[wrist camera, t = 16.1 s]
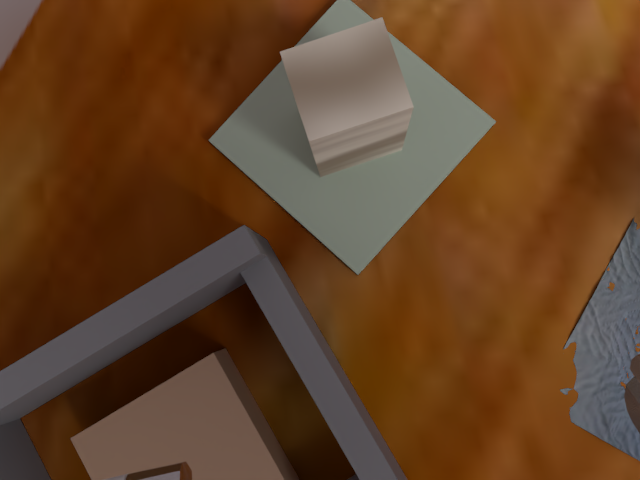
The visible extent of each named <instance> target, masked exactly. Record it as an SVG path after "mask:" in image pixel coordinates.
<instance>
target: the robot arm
mask: <svg viewBox="0 0 640 480" xmlns="http://www.w3.org/2000/svg"><path fill="white" fill-rule="evenodd" d="M630 370H631V371H632V373H633V374H634V377H633V378H632V379H631V380H630V381H629V382H628V383H627V384H626V388H625V394H624V399H625V403H626V408H627V412H628V414H629V416H630V418H631V420H632V422H633V424H634V426H635V427H636V429H637V430H638V432H639V433H640V354H638V355H636V356H635V357H634V358H633V359H632V360H631V365H630ZM104 480H192V470H191V469H190V467H189V465H188V464H187V462H186V461H185V462H180V463H176V464H171V465H167V466H162V467H158V468H153V469H149V470H144V471H140V472H135V473H131V474H125V475H121V476H116V477H112V478H108V479H104Z"/></svg>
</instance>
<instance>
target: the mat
mask: <svg viewBox="0 0 640 480" xmlns="http://www.w3.org/2000/svg"><path fill="white" fill-rule="evenodd" d="M372 20H373V19H372V18H371V17H370V16H369V15H367V14H366V13H365V12H364V11H363V10H361V9H360V8H359V7H358V6H357V5H355V4H354V3H353V2H352V1H351V0H337V1H336V2H335V3H334V4H333V5H332V6H331V7H330V8H329V9H328V11H327V12H326V13H325V14H324V15H323V16H322V17H321V18H320V19H319V20H318V21H317V23H316V24H315V25H314V26H313V27H312V28H311V29H310V30H309V31H308V32H307V33H306V34H305V36H304V37H303V38H302V39H301V40H300V41H299V42H298V43H297V44H296V45H295V46H298V45H301V44H304V43H307V42H310V41H313V40H316V39H319V38H322V37H325V36H328V35H331V34H334V33H337V32H340V31H343V30H346V29H349V28H352V27H355V26H358V25H361V24H364V23H367V22H370V21H372ZM387 32H388V31H387ZM388 35H389V38H390V41H391V43H392V46H393V49H394V52H395V55H396V58H397V61H398V63H399V66H400V69H401V72H402V75H403V78H404V81H405V83H406V86H407V89H408V92H409V95H410V98H411V101H412V103H413V106H414V108H413V111H412V115H411V119H410V122H409V126H408V129H407V133H406V137H405V140H404V144H403V148H402V150H401V151H398V152H395V153H392V154H389V155H386V156H383V157H380V158H377V159H374V160H371V161H368V162H365V163H362V164H359V165H356V166H353V167H350V168H347V169H344V170H341V171H337V172H334V173H331V174H328V175H325V176H322V177H320V174H319V171H318V168H317V165H316V162H315V159H314V156H313V153H312V150H311V147H310V144H309V141H308V137H307V134H306V131H305V128H304V125H303V122H302V119H301V116H300V113H299V110H298V107H297V104H296V101H295V98H294V94H293V91H292V88H291V85H290V82H289V79H288V76H287V73H286V70H285V67H284V64H283V61H281V62H280V63H279V64H278V65H277V66H276V67H275V68H274V69H273V70H272V71H271V73H270V74H269V75H268V76H267V77H266V78H265V79H264V80H263V81H262V82H261V83H260V85H259V86H258V87H257V88H256V89H255V90H254V91H253V92H252V93H251V94H250V95H249V97H248V98H247V99H246V100H245V101H244V102H243V103H242V104H241V105H240V106H239V107H238V108H237V110H236V111H235V112H234V113H233V114H232V115H231V116H230V117H229V118H228V119H227V120H226V122H225V123H224V124H223V125H222V126H221V127H220V128H219V129H218V130H217V131H216V132H215V134H214V135H213V136H212V137H211V138H210V139H209V141H210V142H211V143H212V144H213V145H214V146H215V147H216V148H217V149H218V150H219V151H220V152H222V153H223V154H224V155H225V156H226V157H227V158H228V159H229V160H230V161H232V162H233V163H234V164H235V165H236V166H237V167H238V168H239V169H240V170H242V171H243V172H244V173H245V174H246V175H247V176H248V177H249V178H250V179H252V180H253V181H254V182H255V183H256V184H257V185H258V186H259V187H260V188H262V189H263V190H264V191H265V192H266V193H267V194H268V195H269V196H270V197H272V198H273V199H274V200H275V201H276V202H277V203H278V204H279V205H280V206H282V207H283V208H284V209H285V210H286V211H287V212H288V213H289V214H290V215H292V216H293V217H294V218H295V219H296V220H297V221H298V222H299V223H300V224H302V225H303V226H304V227H305V228H306V229H307V230H308V231H309V232H310V233H312V234H313V235H314V236H315V237H316V238H317V239H318V240H319V241H321V242H322V243H323V244H324V245H325V246H326V247H327V248H328V249H329V250H331V251H332V252H333V253H334V254H335V255H336V256H337V257H338V258H339V259H341V260H342V261H343V262H344V263H345V264H346V265H347V266H348V267H349V268H351V269H352V270H353V271H354V272H355V273H356V274H357V275H359V274H360V272H361V271H362V270H363V269H364V268H365V267H366V266H367V265H368V264H369V262H370V261H371V260H372V259H373V258H374V257H375V256H376V255H377V254H378V252H379V251H380V250H381V249H382V248H383V247H384V246H385V245H386V244H387V242H388V241H389V240H390V239H391V238H392V237H393V236H394V235H395V234H396V232H397V231H398V230H399V229H400V228H401V227H402V226H403V225H404V224H405V222H406V221H407V220H408V219H409V218H410V217H411V216H412V215H413V214H414V212H415V211H416V210H417V209H418V208H419V207H420V206H421V205H422V204H423V202H424V201H425V200H426V199H427V198H428V197H429V196H430V195H431V194H432V193H433V191H434V190H435V189H436V188H437V187H438V186H439V185H440V184H441V183H442V181H443V180H444V179H445V178H446V177H447V176H448V175H449V174H450V173H451V171H452V170H453V169H454V168H455V167H456V166H457V165H458V164H459V163H460V161H461V160H462V159H463V158H464V157H465V156H466V155H467V154H468V153H469V151H470V150H471V149H472V148H473V147H474V146H475V145H476V144H477V143H478V141H479V140H480V139H481V138H482V137H483V136H484V135H485V134H486V133H487V131H488V130H489V129H490V128H491V127H492V126H493V125H494V124H495V122H496V121H495V120H494V119H493V118H491V117H490V116H489V115H488V114H487V113H485V112H484V111H483V110H482V109H481V108H479V107H478V106H477V105H476V104H474V103H473V102H472V101H471V100H470V99H468V98H467V97H466V96H465V95H464V94H462V93H461V92H460V91H459V90H458V89H456V88H455V87H454V86H453V85H452V84H450V83H449V82H448V81H447V80H446V79H444V78H443V77H442V76H441V75H440V74H438V73H437V72H436V71H435V70H434V69H432V68H431V67H430V66H429V65H428V64H426V63H425V62H424V61H423V60H422V59H420V58H419V57H418V56H417V55H416V54H414V53H413V52H412V51H411V50H410V49H408V48H407V47H406V46H405V45H403V44H402V43H401V42H400V41H399V40H397V39H396V38H395V37H394V36H393V35H391V34H390V33H389V32H388ZM295 46H294V47H295Z"/></svg>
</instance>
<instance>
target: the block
mask: <svg viewBox="0 0 640 480" xmlns="http://www.w3.org/2000/svg"><path fill="white" fill-rule="evenodd" d="M280 54H281V58H282V61H283V64H284V67H285V70H286V73H287V76H288V79H289V82H290V85H291V88H292V91H293V94H294V98H295V101H296V104H297V107H298V110H299V113H300V116H301V119H302V122H303V125H304V128H305V131H306V134H307V137H308V141H309V144H310V147H311V150H312V153H313V156H314V159H315V162H316V165H317V168H318V171H319V174H320V177H322V176H325V175H328V174H331V173H334V172H337V171H341V170H344V169H347V168H350V167H353V166H356V165H359V164H362V163H365V162H368V161H371V160H374V159H377V158H380V157H383V156H386V155H389V154H392V153H395V152H398V151H401V150H402V148H403V144H404V140H405V137H406V133H407V129H408V126H409V122H410V119H411V115H412V111H413V108H414V106H413V103H412V101H411V98H410V95H409V92H408V89H407V86H406V83H405V81H404V78H403V75H402V72H401V69H400V66H399V63H398V61H397V58H396V55H395V52H394V49H393V46H392V43H391V41H390V38H389V35H388V32H387V29H386V26H385V23H384V21H383V18H382V17H381V18H378V19H375V20H372V21H370V22H367V23H364V24H361V25H358V26H355V27H352V28H349V29H346V30H343V31H340V32H337V33H334V34H331V35H328V36H325V37H322V38H319V39H316V40H313V41H310V42H307V43H304V44H301V45H298V46H295V47H292V48H290V49H287V50H284V51H281V52H280Z"/></svg>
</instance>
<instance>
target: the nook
mask: <svg viewBox="0 0 640 480" xmlns="http://www.w3.org/2000/svg"><path fill="white" fill-rule="evenodd" d="M245 283H247V285H248V287H249V289H250V290H251V292H252V294H253V296H254V297H255V299H256V301H257V303H258V304H259V306H260V308H261V309H262V311H263V313H264V315H265V316H266V318H267V320H268V322H269V323H270V325H271V327H272V329H273V330H274V332H275V334H276V336H277V337H278V339H279V341H280V342H281V344H282V346H283V348H284V349H285V351H286V353H287V355H288V356H289V358H290V360H291V362H292V363H293V365H294V367H295V368H296V370H297V372H298V374H299V375H300V377H301V379H302V381H303V382H304V384H305V386H306V388H307V389H308V391H309V393H310V395H311V396H312V398H313V400H314V401H315V403H316V405H317V407H318V408H319V410H320V412H321V414H322V415H323V417H324V419H325V421H326V422H327V424H328V426H329V428H330V429H331V431H332V433H333V434H334V436H335V438H336V440H337V441H338V443H339V445H340V447H341V448H342V450H343V452H344V454H345V455H346V457H347V459H348V460H349V462H350V464H351V466H352V467H353V469H354V471H355V473H356V474H355V475H354V476H352V477H350V478H349V479H347V480H407V478H406V476H405V475H404V473H403V471H402V470H401V468H400V466H399V464H398V463H397V461H396V459H395V458H394V456H393V454H392V452H391V451H390V449H389V447H388V446H387V444H386V442H385V441H384V439H383V437H382V435H381V434H380V432H379V430H378V429H377V427H376V425H375V424H374V422H373V420H372V418H371V417H370V415H369V413H368V412H367V410H366V408H365V406H364V405H363V403H362V401H361V400H360V398H359V396H358V395H357V393H356V391H355V389H354V388H353V386H352V384H351V383H350V381H349V379H348V377H347V376H346V374H345V372H344V371H343V369H342V367H341V366H340V364H339V362H338V360H337V359H336V357H335V355H334V354H333V352H332V350H331V349H330V347H329V345H328V343H327V342H326V340H325V338H324V337H323V335H322V333H321V331H320V330H319V328H318V326H317V325H316V323H315V321H314V320H313V318H312V316H311V314H310V313H309V311H308V309H307V308H306V306H305V304H304V302H303V301H302V299H301V297H300V296H299V294H298V292H297V291H296V289H295V287H294V285H293V284H292V282H291V280H290V279H289V277H288V275H287V273H286V272H285V270H284V268H283V267H282V265H281V263H280V262H279V260H278V258H277V256H276V255H275V253H274V251H273V250H272V248H271V246H270V245H269V243H268V241H267V239H265V238H264V237H262V236H261V235H259V234H257V233H256V232H254V231H253V230H251V229H250V228H248V227H247V226H245V225H243V226H241V227H240V228H238V229H236V230H235V231H233V232H231V233H230V234H228V235H226V236H225V237H223V238H221V239H220V240H218V241H216V242H215V243H213V244H211V245H210V246H208V247H206V248H205V249H203V250H201V251H200V252H198V253H196V254H195V255H193V256H191V257H190V258H188V259H186V260H185V261H183V262H181V263H180V264H178V265H176V266H175V267H173V268H171V269H170V270H168V271H166V272H165V273H163V274H161V275H160V276H158V277H156V278H155V279H153V280H151V281H150V282H148V283H146V284H145V285H143V286H141V287H140V288H138V289H136V290H135V291H133V292H131V293H130V294H128V295H126V296H125V297H123V298H121V299H120V300H118V301H116V302H115V303H113V304H111V305H110V306H108V307H106V308H105V309H103V310H101V311H100V312H98V313H96V314H95V315H93V316H91V317H90V318H88V319H86V320H85V321H83V322H81V323H80V324H78V325H76V326H75V327H73V328H71V329H70V330H68V331H66V332H65V333H63V334H61V335H60V336H58V337H56V338H55V339H53V340H51V341H50V342H48V343H46V344H45V345H43V346H41V347H40V348H38V349H36V350H35V351H33V352H31V353H30V354H28V355H26V356H25V357H23V358H21V359H20V360H18V361H16V362H15V363H13V364H11V365H10V366H8V367H6V368H5V369H3V370H1V371H0V480H51V479H50V477H49V475H48V473H47V471H46V469H45V467H44V465H43V463H42V461H41V459H40V457H39V455H38V453H37V451H36V449H35V447H34V445H33V443H32V441H31V439H30V437H29V435H28V433H27V431H26V429H25V427H24V425H23V424H22V422H21V420H20V418H21V417H23V416H25V415H26V414H28V413H30V412H31V411H33V410H35V409H36V408H38V407H40V406H41V405H43V404H45V403H46V402H48V401H50V400H51V399H53V398H55V397H56V396H58V395H60V394H61V393H63V392H65V391H66V390H68V389H70V388H71V387H73V386H75V385H76V384H78V383H80V382H81V381H83V380H85V379H86V378H88V377H90V376H91V375H93V374H95V373H96V372H98V371H100V370H102V369H103V368H105V367H107V366H108V365H110V364H112V363H113V362H115V361H117V360H118V359H120V358H122V357H123V356H125V355H127V354H128V353H130V352H132V351H133V350H135V349H137V348H138V347H140V346H142V345H143V344H145V343H147V342H148V341H150V340H152V339H153V338H155V337H157V336H158V335H160V334H162V333H163V332H165V331H167V330H168V329H170V328H172V327H173V326H175V325H177V324H178V323H180V322H182V321H183V320H185V319H187V318H188V317H190V316H192V315H193V314H195V313H197V312H198V311H200V310H202V309H203V308H205V307H207V306H208V305H210V304H212V303H213V302H215V301H217V300H218V299H220V298H222V297H223V296H225V295H227V294H228V293H230V292H232V291H233V290H235V289H237V288H238V287H240V286H242V285H243V284H245ZM70 439H71V441H72V443H73V445H74V447H75V449H76V451H77V453H78V455H79V456H80V458H81V460H82V462H83V464H84V466H85V468H86V470H87V472H88V474H89V476H90V478H91V480H104V479H108V478H112V477H116V476H121V475H125V474H131V473H135V472H140V471H144V470H149V469H153V468H158V467H162V466H167V465H171V464H176V463H180V462H185V461H186V462H187V464H188V465H189V467H190V469H191V470H192V480H300V479H299V478H298V476H297V474H296V472H295V470H294V469H293V467H292V465H291V463H290V462H289V460H288V458H287V456H286V455H285V453H284V451H283V449H282V447H281V446H280V444H279V442H278V440H277V439H276V437H275V435H274V433H273V431H272V430H271V428H270V426H269V424H268V423H267V421H266V419H265V417H264V415H263V414H262V412H261V410H260V408H259V407H258V405H257V403H256V401H255V399H254V398H253V396H252V394H251V392H250V391H249V389H248V387H247V385H246V383H245V382H244V380H243V378H242V376H241V375H240V373H239V371H238V369H237V367H236V366H235V364H234V362H233V360H232V359H231V357H230V355H229V353H228V351H227V350H226V348H225V349H222V350H219V351H217V352H214V353H212V354H210V355H209V356H207V357H205V358H204V359H202V360H200V361H199V362H197V363H195V364H194V365H192V366H190V367H189V368H187V369H185V370H184V371H182V372H180V373H179V374H177V375H175V376H174V377H172V378H170V379H169V380H167V381H165V382H164V383H162V384H160V385H159V386H157V387H155V388H154V389H152V390H150V391H149V392H147V393H145V394H144V395H142V396H140V397H139V398H137V399H135V400H134V401H132V402H130V403H129V404H127V405H125V406H124V407H122V408H120V409H119V410H117V411H115V412H114V413H112V414H110V415H109V416H107V417H105V418H104V419H102V420H100V421H98V422H97V423H95V424H93V425H92V426H90V427H88V428H87V429H85V430H83V431H82V432H80V433H78V434H77V435H75V436H73V437H72V438H70Z"/></svg>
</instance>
